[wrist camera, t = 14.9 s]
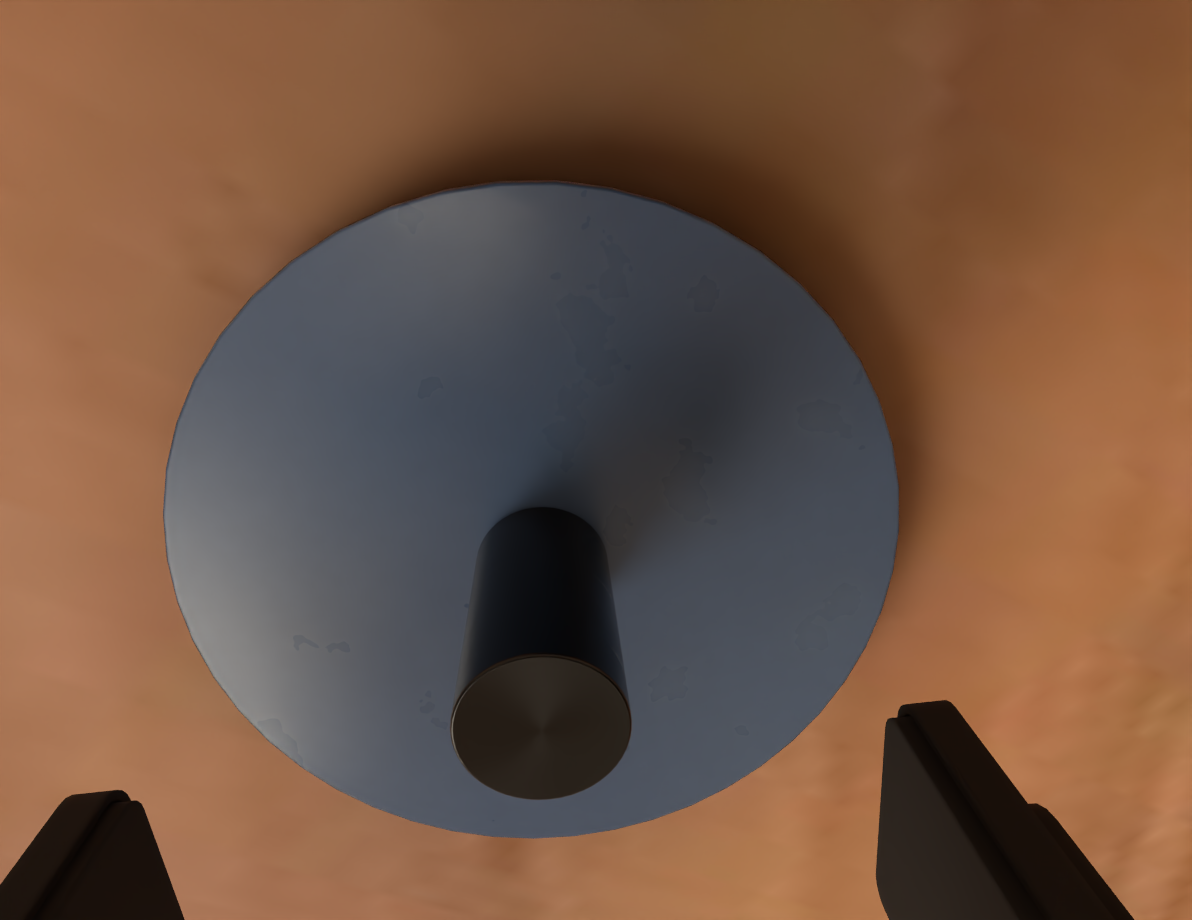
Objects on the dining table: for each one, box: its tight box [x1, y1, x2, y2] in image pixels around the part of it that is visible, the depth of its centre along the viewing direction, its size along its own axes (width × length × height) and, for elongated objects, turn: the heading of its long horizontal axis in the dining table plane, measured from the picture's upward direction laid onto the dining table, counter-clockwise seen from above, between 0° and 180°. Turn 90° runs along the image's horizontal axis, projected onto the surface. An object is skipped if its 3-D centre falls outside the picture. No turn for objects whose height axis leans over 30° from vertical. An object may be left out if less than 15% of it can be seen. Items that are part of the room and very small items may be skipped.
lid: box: [163, 180, 899, 838], centre depth 14 cm, size 14×14×6 cm
